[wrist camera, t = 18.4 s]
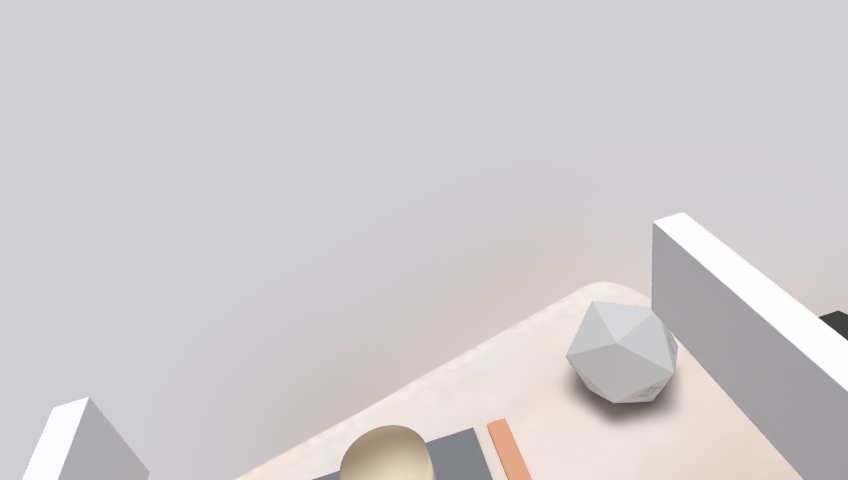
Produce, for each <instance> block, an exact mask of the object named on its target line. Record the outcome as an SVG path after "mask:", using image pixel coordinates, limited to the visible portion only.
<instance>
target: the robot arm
mask: <svg viewBox="0 0 848 480" xmlns="http://www.w3.org/2000/svg"><path fill="white" fill-rule="evenodd" d="M652 248H653V249H652V311H653V312H654V313H655V314H656V316H657V317H658V318H659V319H660V320H661V321H662V322H663V323H664V324H665V326H666V327H667V328H668V329H669V330H670V331H671V332H672V333H673V334H674V336H675V337H676V338H677V339H678V340H679V341H680V342H681V343H682V345H683V346H684V347H685V348H686V349H687V350H688V351H689V352H690V353H691V355H692V356H693V357H694V358H695V359H696V360H697V361H698V362H699V363H700V365H701V366H702V367H703V368H704V369H705V370H706V371H707V372H708V373H709V375H710V376H711V377H712V378H713V379H714V380H715V381H716V382H717V383H718V385H719V386H720V387H721V388H722V389H723V390H724V391H725V392H726V394H727V395H728V396H729V397H730V398H731V399H732V400H733V401H734V402H735V404H736V405H737V406H738V407H739V408H740V409H741V410H742V411H743V412H744V414H745V415H746V416H747V417H748V418H749V419H750V420H751V421H752V422H753V424H754V425H755V426H756V427H757V428H758V429H759V430H760V431H761V432H762V434H763V435H764V436H765V437H766V438H767V439H768V440H769V441H770V443H771V444H772V445H773V446H774V447H775V448H776V449H777V450H778V451H779V453H780V454H781V455H782V456H783V457H784V458H785V459H786V460H787V461H788V463H789V464H790V465H791V466H792V467H793V468H794V469H795V470H796V471H797V473H798V474H799V475H800V476H801V477H802V478H803V479H804V480H848V315H847V314H845V313H843V312H840V311H836V312H833V313H830V314H827V315H824V316H821V317H817V316H816V315H814V314H813V313H812V312H810V311H809V310H808V309H807V308H805V307H804V306H803V305H801V304H800V303H799V302H798V301H796V300H795V299H794V298H793V297H791V296H790V295H789V294H787V293H786V292H785V291H784V290H782V289H781V288H780V287H778V286H777V285H776V284H775V283H773V282H772V281H771V280H770V279H768V278H767V277H766V276H764V275H763V274H762V273H761V272H759V271H758V270H757V269H756V268H754V267H753V266H752V265H750V264H749V263H748V262H747V261H745V260H744V259H743V258H742V257H740V256H739V255H738V254H736V253H735V252H734V251H732V250H731V249H730V248H729V247H727V246H726V245H725V244H724V243H722V242H721V241H720V240H719V239H717V238H716V237H715V236H713V235H712V234H711V233H710V232H708V231H707V230H705V229H704V228H703V227H702V226H701V225H699V224H698V223H697V222H696V221H694V220H693V219H692V218H690V217H689V216H688V215H687V214H685V213H684V212H682V213H679V214H676V215H672V216H669V217H666V218H663V219H659V220H656V221H653V246H652ZM148 475H149V471H148V469H147V468H146V467H145V466H144V464H143V463H142V462H141V461H140V459H139V458H138V457H137V456H136V454H135V453H134V452H133V451H132V450H131V448H130V447H129V446H128V444H127V443H126V442H125V441H124V440H123V438H122V437H121V436H120V435H119V433H118V432H117V431H116V430H115V428H114V427H113V426H112V425H111V423H110V422H109V421H108V420H107V418H106V417H105V416H104V415H103V413H102V412H101V411H100V410H99V408H98V407H97V406H96V405H95V404H94V402H93V401H92V400H91V399H90V397H87V398H84V399H80V400H77V401H74V402H71V403H67V404H64V405H61V406H58V407H55V408H53V410H52V413H51V415H50V418H49V420H48V422H47V424H46V426H45V429H44V431H43V433H42V435H41V438H40V440H39V442H38V445H37V447H36V449H35V452H34V454H33V456H32V458H31V461H30V463H29V465H28V467H27V470H26V472H25V474H24V476H23V479H22V480H148Z"/></svg>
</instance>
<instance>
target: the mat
mask: <svg viewBox="0 0 848 480" xmlns="http://www.w3.org/2000/svg"><path fill="white" fill-rule="evenodd" d="M425 444H426V446H427V449H428V452H429V455H430V459H431V462H432V465H433V468H434V471H435V474H436V477H437V480H492V477H491V474H490V472H489V469H488V466H487V463H486V461H485V458H484V455H483V453H482V450H481V447H480V445H479V442H478V439H477V437H476V434H475V431H474V428H470V429H467V430H464V431H461V432H458V433H455V434H452V435H449V436H446V437H443V438H439V439H436V440H433V441H430V442H427V443H425ZM313 480H340V471H338V472H335V473H331V474H328V475H325V476H322V477H319V478H316V479H313Z"/></svg>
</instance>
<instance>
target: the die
mask: <svg viewBox="0 0 848 480" xmlns="http://www.w3.org/2000/svg"><path fill="white" fill-rule="evenodd" d="M677 349H678V346H677V344H676V342H675V340H674V338H673V336H672V334H671V332H670V330H669V329H668V328H667V327H666V326H665V324H664V323H663V322H662V321H661V320H660V319H659V318H658V317H657V316H656V314H655V313H654V312H653V311H652V308H648V307H639V306H631V305H622V304H614V303H605V302H596V301H592V303H591V305H590V307H589V309H588V311H587V313H586V315H585V317H584V319H583V321H582V323H581V325H580V327H579V329H578V332H577V334H576V336H575V338H574V340H573V342H572V344H571V346H570V348H569V350H568V352H567V354H566V358H567V359H568V360H569V362H570V363H571V365H572V366H573V368H574V369H575V370H576V372H577V373H578V375H579V376H580V378H581V379H582V380H583V382H584V383H585V385H586V386H587V388H588V389H589V390H590V391H592V392H594V393H596V394H597V395H599V396H601V397H603V398H605V399H607V400H609V401H610V402H612V403H630V402H652V401H653V400H654V399H655V397H656V396H657V395H658V394H659V392H660V391H661V390H662V389H663V387H664V386H665V385H666V384H667V382H668V381H669V380H670V379H671V377H672V376H673V375H674V374H675V366H676V358H677Z"/></svg>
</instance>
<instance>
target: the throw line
mask: <svg viewBox="0 0 848 480" xmlns="http://www.w3.org/2000/svg"><path fill="white" fill-rule="evenodd" d="M487 427H488V429H489V432H490V434H491V437H492V439H493V442H494V444H495V447H496V449H497V452H498V454H499V457H500V459H501V462H502V464H503V467H504V469H505V472H506V474H507V477H508V479H509V480H532V479H531V477H530V474H529V472H528V470H527V468H526V465H525V463H524V461H523V458H522V456H521V454H520V452H519V449H518V447H517V445H516V442H515V440H514V438H513V436H512V433H511V431H510V429H509V427H508V424H507V422H506V420H505V418H504V419H501V420H497V421H494V422H491V423H488V424H487Z"/></svg>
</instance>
